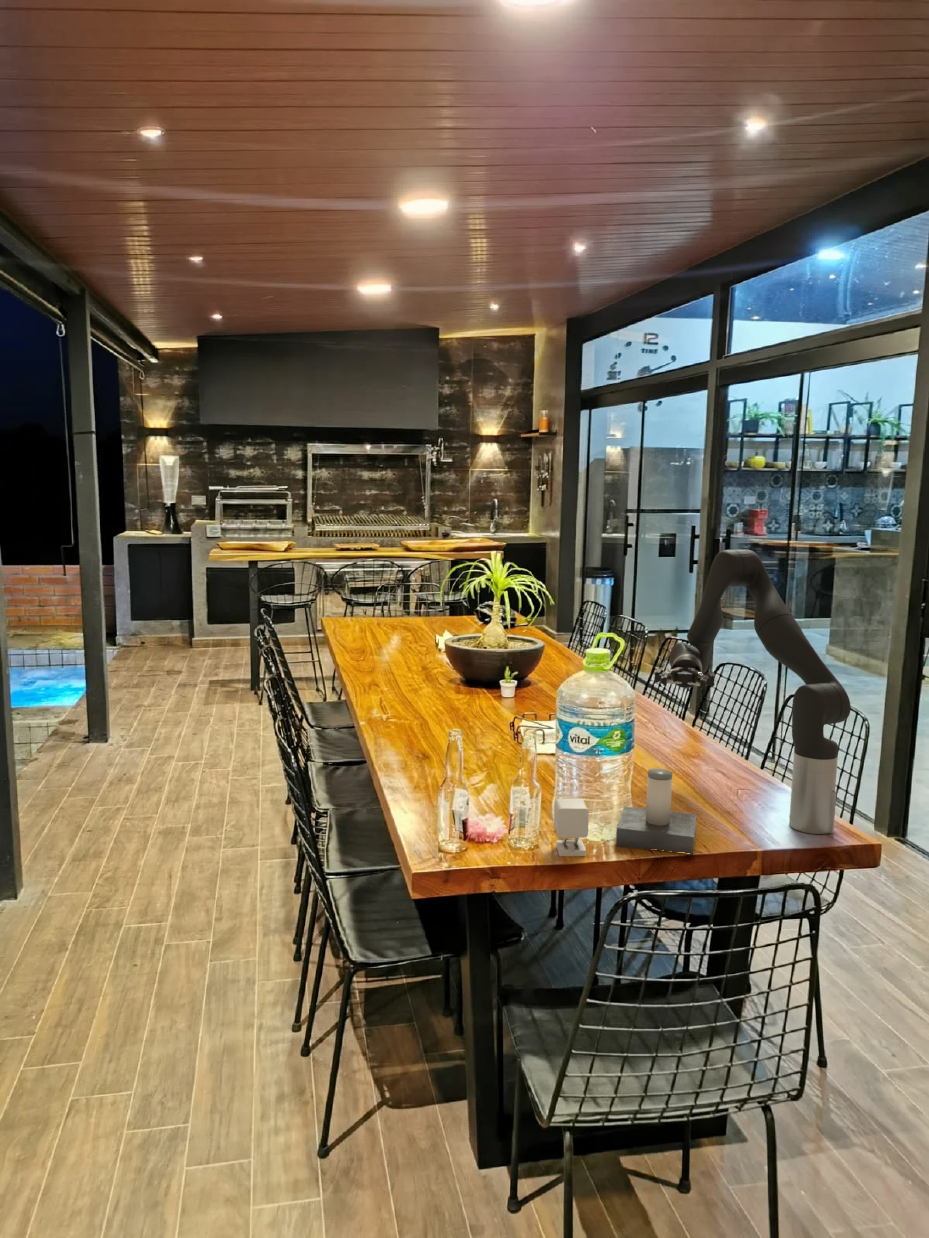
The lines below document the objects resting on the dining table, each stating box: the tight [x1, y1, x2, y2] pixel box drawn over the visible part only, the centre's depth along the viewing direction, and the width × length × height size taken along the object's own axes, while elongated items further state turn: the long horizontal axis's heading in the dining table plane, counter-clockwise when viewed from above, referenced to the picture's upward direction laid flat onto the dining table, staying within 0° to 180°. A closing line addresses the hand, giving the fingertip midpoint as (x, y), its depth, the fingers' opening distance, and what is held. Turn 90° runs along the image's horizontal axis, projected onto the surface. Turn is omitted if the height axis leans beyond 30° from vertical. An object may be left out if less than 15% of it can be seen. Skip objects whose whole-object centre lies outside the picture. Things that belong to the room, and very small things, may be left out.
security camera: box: [553, 798, 590, 857], centre depth 195 cm, size 6×7×10 cm
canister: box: [645, 768, 673, 825], centre depth 201 cm, size 5×5×11 cm
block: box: [615, 806, 697, 855], centre depth 202 cm, size 16×14×4 cm
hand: (683, 683), depth 220 cm, fingers open, 8 cm apart
